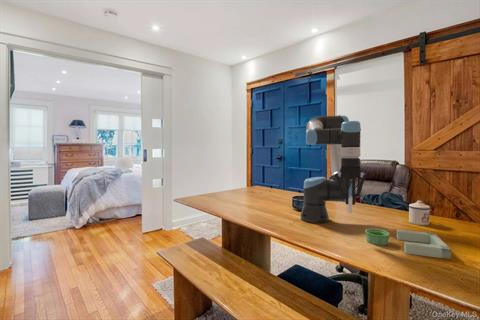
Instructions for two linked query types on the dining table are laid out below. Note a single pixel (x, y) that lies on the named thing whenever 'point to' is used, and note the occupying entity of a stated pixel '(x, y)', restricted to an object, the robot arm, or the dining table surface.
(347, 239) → the dining table surface
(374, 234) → the ramekin
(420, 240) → the holder
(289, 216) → the dining table surface
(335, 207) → the dining table surface
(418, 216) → the teacup with lid
